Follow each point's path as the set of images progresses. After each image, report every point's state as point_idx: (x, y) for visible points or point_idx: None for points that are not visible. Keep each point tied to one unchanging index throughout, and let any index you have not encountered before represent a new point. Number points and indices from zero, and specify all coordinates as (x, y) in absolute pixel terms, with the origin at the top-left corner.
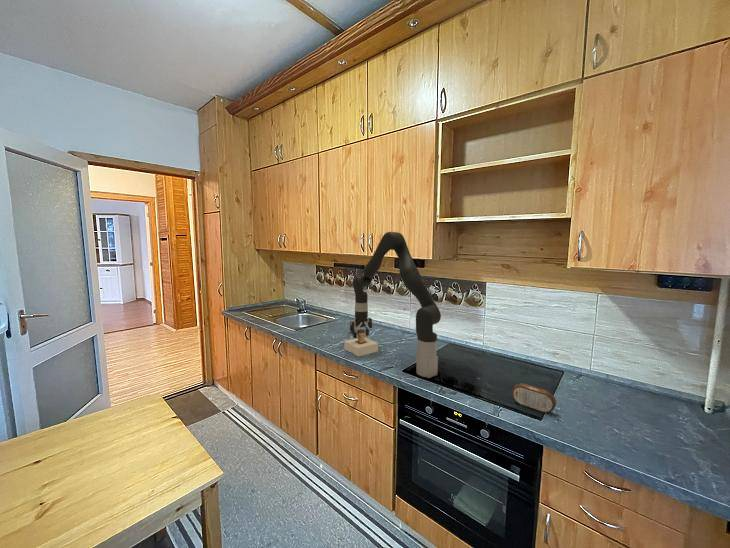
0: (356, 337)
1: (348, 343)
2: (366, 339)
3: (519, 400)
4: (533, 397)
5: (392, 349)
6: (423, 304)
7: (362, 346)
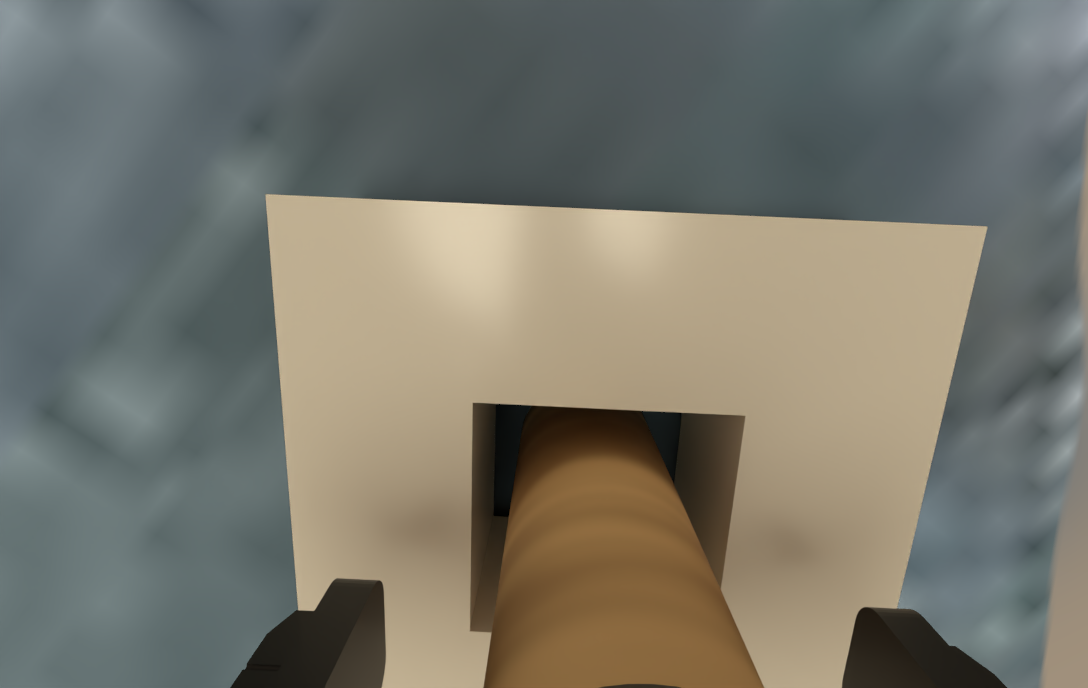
0: (895, 628)
1: None
2: None
3: None
4: None
5: (29, 84)
6: None
7: (807, 252)
